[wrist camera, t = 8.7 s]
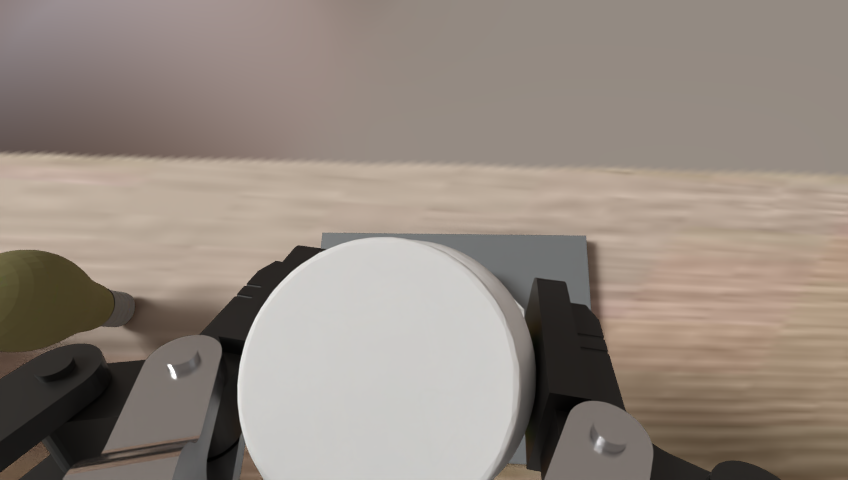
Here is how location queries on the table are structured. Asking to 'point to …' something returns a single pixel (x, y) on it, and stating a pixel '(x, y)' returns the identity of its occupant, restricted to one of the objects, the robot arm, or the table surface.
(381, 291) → the supplement bottle
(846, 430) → the table surface
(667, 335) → the table surface
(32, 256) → the light bulb
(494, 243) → the collar plate
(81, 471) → the robot arm
